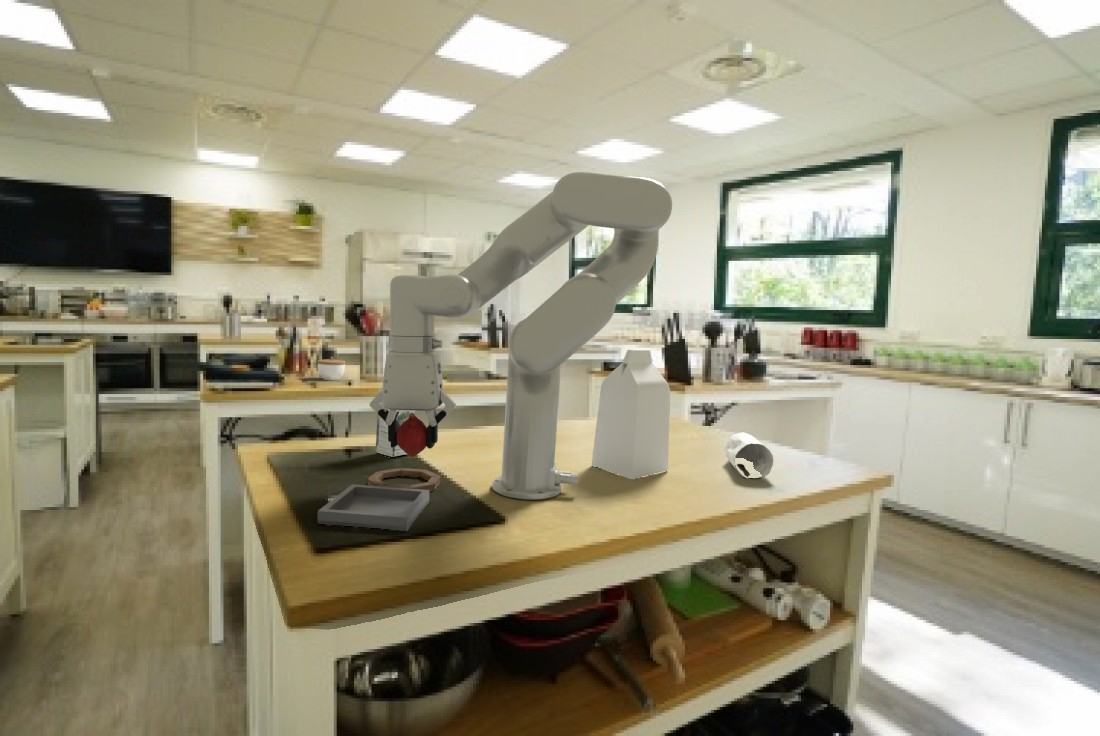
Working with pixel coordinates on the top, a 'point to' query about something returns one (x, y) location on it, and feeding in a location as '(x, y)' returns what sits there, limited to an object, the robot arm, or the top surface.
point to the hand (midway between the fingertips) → (413, 445)
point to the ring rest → (426, 474)
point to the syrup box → (382, 433)
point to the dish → (375, 507)
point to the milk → (633, 419)
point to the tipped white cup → (749, 452)
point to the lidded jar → (331, 369)
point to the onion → (412, 436)
